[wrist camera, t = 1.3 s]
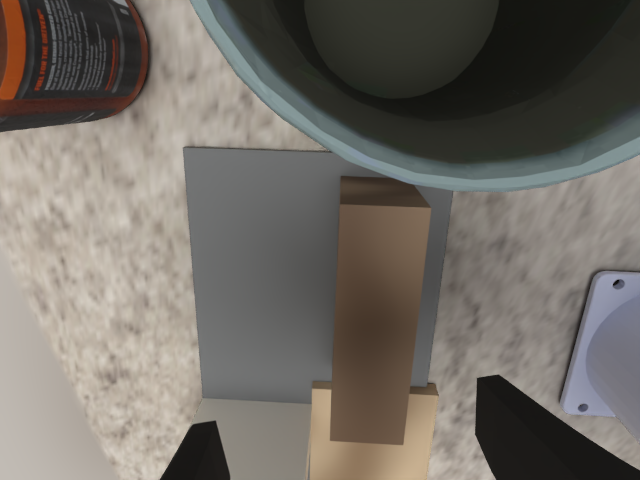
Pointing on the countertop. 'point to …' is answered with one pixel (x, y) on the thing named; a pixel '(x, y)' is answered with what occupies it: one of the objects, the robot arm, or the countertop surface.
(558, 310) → the countertop surface
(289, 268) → the mat
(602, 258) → the countertop surface
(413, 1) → the teal textured planter
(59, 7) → the supplement bottle
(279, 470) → the tile
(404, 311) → the brown rectangular block
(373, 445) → the trivet
